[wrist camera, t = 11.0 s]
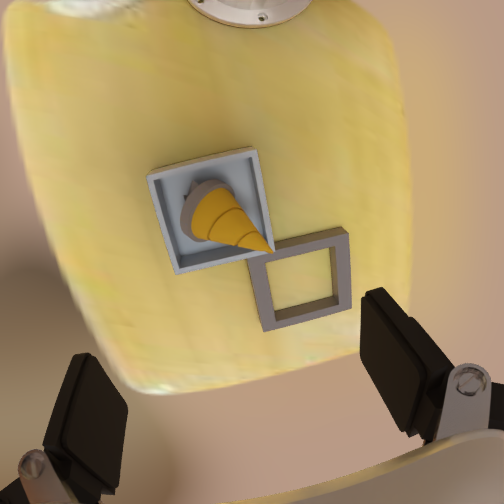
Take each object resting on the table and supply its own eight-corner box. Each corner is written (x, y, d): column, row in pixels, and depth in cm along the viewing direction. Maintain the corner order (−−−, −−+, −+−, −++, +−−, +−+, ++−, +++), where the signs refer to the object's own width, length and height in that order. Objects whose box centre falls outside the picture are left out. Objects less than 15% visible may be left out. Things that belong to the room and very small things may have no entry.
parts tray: (151, 170, 27) (145, 176, 24) (251, 146, 27) (256, 149, 24) (177, 259, 30) (175, 274, 28) (268, 238, 31) (275, 251, 28)
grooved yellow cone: (203, 156, 27) (299, 207, 23) (206, 203, 31) (290, 256, 27) (153, 184, 24) (249, 248, 20) (164, 232, 28) (247, 296, 24)
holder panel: (244, 249, 31) (246, 257, 29) (341, 226, 32) (348, 233, 30) (260, 322, 35) (263, 332, 33) (345, 299, 35) (351, 308, 34)
